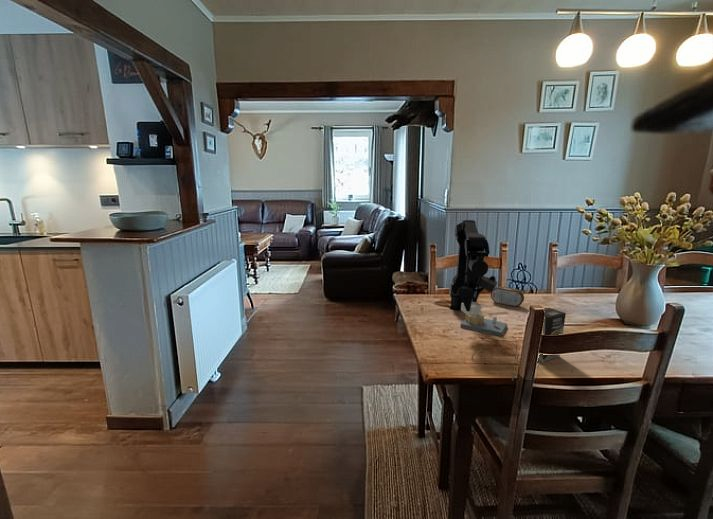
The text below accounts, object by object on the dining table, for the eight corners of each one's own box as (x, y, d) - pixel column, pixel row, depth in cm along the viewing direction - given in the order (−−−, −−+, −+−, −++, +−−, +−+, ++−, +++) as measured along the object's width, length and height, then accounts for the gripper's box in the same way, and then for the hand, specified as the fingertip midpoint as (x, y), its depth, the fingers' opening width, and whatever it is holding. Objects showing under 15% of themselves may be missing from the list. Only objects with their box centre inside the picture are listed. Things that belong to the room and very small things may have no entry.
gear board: (460, 327, 152) (461, 312, 151) (468, 318, 161) (469, 304, 160) (501, 336, 144) (502, 320, 142) (506, 326, 153) (508, 312, 151)
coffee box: (543, 362, 124) (549, 317, 120) (526, 354, 129) (531, 311, 126) (560, 356, 128) (566, 312, 124) (544, 349, 133) (549, 306, 130)
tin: (523, 306, 177) (525, 289, 175) (522, 308, 174) (524, 291, 172) (490, 300, 185) (492, 284, 183) (489, 302, 182) (490, 286, 180)
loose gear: (477, 316, 138) (478, 308, 138) (458, 312, 142) (459, 304, 141) (482, 310, 144) (483, 303, 143) (464, 306, 148) (465, 299, 147)
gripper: (489, 278, 127) (485, 320, 131) (501, 267, 143) (498, 305, 146) (457, 273, 133) (455, 314, 137) (472, 263, 149) (470, 300, 152)
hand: (470, 308), depth 143 cm, fingers closed on loose gear, 7 cm apart
